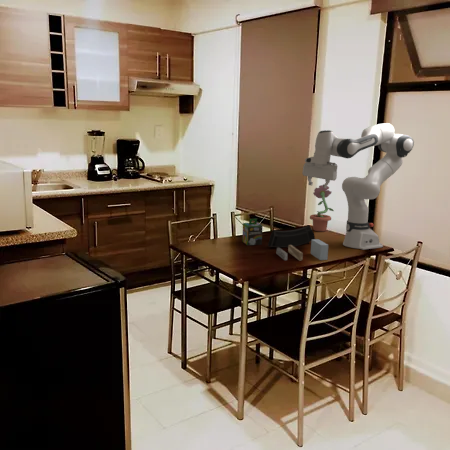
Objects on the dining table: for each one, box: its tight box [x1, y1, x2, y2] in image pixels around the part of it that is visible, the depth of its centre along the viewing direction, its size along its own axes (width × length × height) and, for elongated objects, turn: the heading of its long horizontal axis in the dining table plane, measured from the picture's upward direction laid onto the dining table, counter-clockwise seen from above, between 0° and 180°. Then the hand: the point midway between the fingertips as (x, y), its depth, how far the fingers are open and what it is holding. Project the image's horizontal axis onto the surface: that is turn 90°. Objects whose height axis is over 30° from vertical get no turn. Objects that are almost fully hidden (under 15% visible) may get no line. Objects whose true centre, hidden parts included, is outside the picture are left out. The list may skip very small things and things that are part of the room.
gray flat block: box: [275, 247, 289, 261], centre depth 245 cm, size 2×12×4 cm, turn 14°
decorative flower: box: [309, 184, 335, 232], centre depth 303 cm, size 15×14×30 cm
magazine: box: [267, 224, 316, 248], centre depth 266 cm, size 17×3×30 cm
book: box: [310, 238, 329, 261], centre depth 247 cm, size 4×12×8 cm, turn 14°
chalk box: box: [242, 218, 263, 246], centre depth 270 cm, size 9×9×15 cm
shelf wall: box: [287, 245, 304, 262], centre depth 247 cm, size 2×16×4 cm, turn 14°
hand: (317, 186), depth 253 cm, fingers open, 8 cm apart
